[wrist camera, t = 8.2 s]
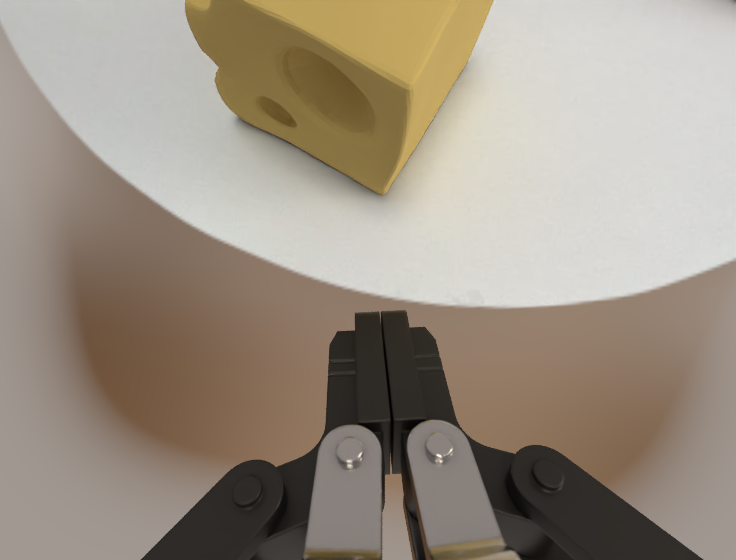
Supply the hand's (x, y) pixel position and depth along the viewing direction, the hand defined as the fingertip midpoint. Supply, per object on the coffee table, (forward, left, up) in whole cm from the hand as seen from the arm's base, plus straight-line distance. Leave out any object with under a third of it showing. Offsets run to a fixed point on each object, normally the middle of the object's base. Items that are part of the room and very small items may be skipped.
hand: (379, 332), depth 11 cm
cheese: (0, +14, -9) cm, 17 cm away
